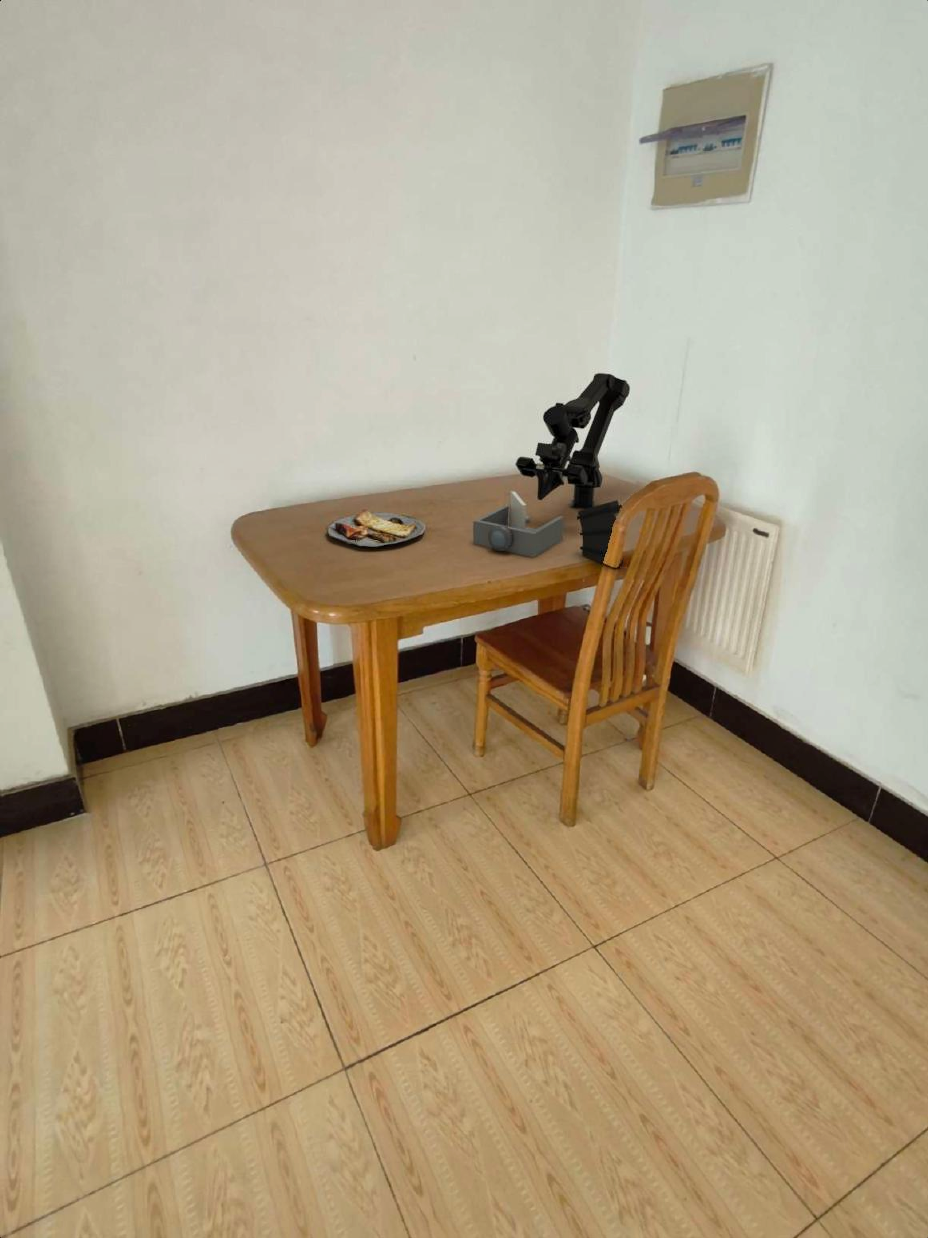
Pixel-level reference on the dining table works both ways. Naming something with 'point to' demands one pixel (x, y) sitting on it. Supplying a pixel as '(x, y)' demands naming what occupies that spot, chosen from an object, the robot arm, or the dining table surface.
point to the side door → (517, 512)
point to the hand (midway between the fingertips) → (539, 499)
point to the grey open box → (515, 534)
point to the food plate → (375, 528)
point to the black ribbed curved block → (598, 529)
